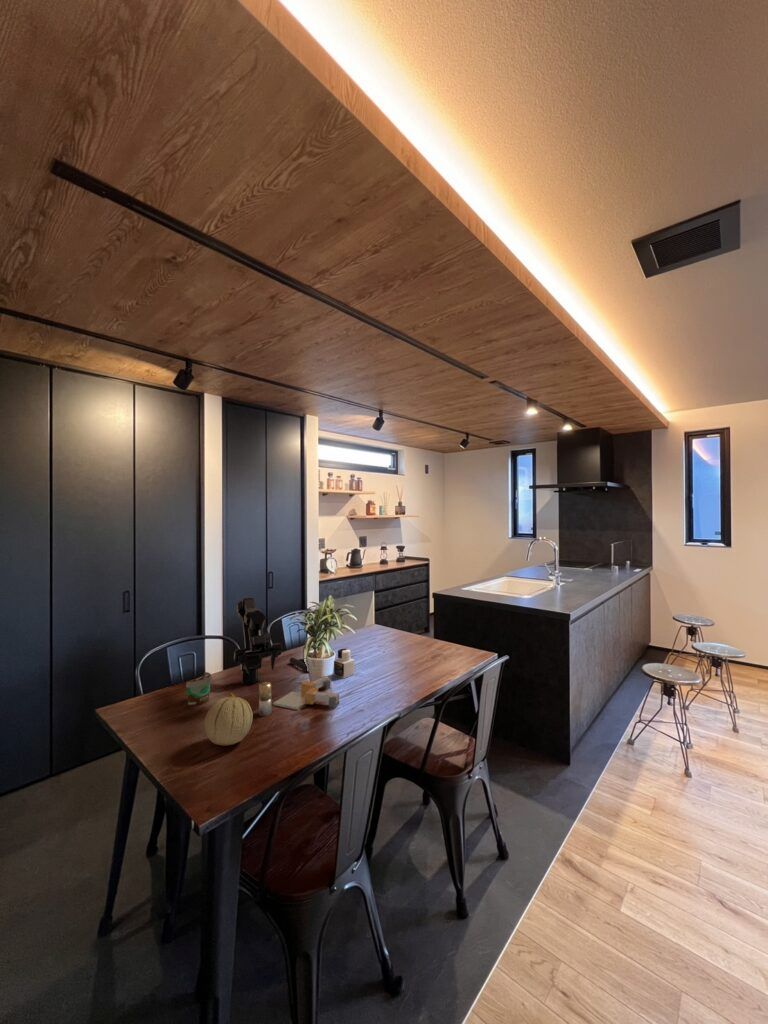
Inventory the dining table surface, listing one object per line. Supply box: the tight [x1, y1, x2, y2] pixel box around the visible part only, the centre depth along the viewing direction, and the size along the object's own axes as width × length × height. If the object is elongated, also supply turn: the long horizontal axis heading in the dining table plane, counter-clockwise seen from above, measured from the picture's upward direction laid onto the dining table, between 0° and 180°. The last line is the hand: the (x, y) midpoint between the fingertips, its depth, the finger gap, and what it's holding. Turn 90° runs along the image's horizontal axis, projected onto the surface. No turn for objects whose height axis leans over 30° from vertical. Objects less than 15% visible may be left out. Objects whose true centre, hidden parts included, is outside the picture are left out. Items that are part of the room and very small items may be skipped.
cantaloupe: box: [204, 692, 254, 747], centre depth 135 cm, size 15×15×15 cm
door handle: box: [288, 657, 308, 673], centre depth 210 cm, size 3×20×16 cm
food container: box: [185, 671, 213, 707], centre depth 167 cm, size 12×6×10 cm, turn 168°
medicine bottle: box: [333, 648, 356, 679], centre depth 195 cm, size 7×7×12 cm
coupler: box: [258, 681, 272, 717], centre depth 156 cm, size 4×4×11 cm
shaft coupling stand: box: [272, 676, 340, 711], centre depth 169 cm, size 24×24×5 cm
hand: (261, 671), depth 163 cm, fingers open, 9 cm apart
